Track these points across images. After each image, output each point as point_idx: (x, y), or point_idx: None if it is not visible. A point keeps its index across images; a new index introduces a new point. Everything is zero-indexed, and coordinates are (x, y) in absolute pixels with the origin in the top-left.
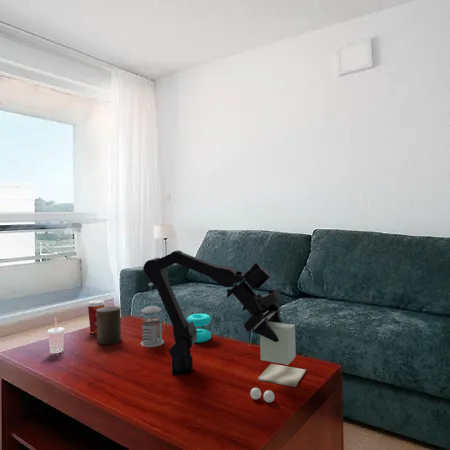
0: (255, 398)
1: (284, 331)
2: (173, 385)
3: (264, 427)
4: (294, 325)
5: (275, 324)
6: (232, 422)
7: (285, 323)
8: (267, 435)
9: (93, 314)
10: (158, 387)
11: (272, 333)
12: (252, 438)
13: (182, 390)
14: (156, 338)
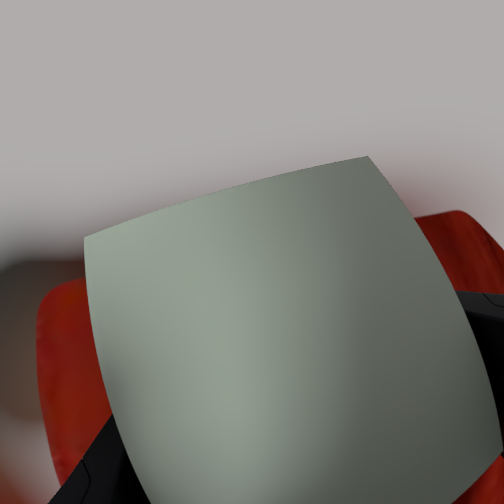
0: None
1: (385, 187)
2: (482, 497)
3: (446, 233)
4: (106, 232)
5: (278, 478)
6: (483, 286)
7: (105, 380)
8: (449, 215)
9: None
10: (498, 494)
11: (462, 294)
12: (469, 227)
13: (488, 468)
14: None
